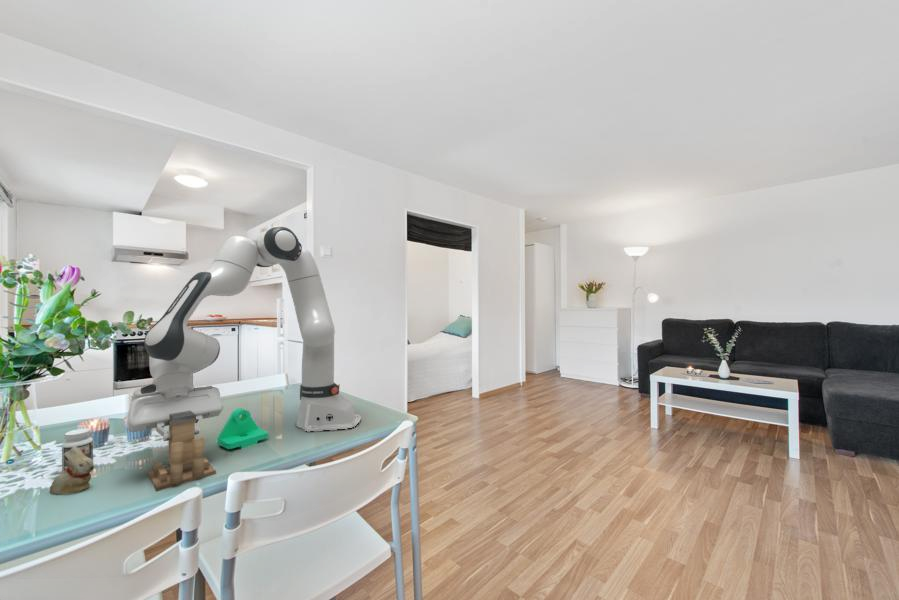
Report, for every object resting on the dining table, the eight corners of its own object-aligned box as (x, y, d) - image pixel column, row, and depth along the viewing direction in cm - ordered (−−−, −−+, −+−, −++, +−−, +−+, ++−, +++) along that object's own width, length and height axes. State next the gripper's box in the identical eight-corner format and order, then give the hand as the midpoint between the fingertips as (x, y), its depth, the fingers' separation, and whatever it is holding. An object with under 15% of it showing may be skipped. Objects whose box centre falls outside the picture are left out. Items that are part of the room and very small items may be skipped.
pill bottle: (98, 466, 97) (99, 428, 97) (71, 476, 92) (71, 436, 92) (83, 463, 99) (84, 426, 99) (55, 473, 93) (56, 434, 93)
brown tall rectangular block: (168, 461, 93) (169, 414, 93) (189, 455, 97) (190, 410, 97) (172, 466, 90) (173, 418, 90) (193, 461, 94) (194, 414, 94)
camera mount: (228, 453, 107) (229, 418, 107) (217, 446, 111) (217, 413, 111) (269, 440, 116) (269, 408, 116) (256, 435, 121) (257, 404, 121)
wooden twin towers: (147, 473, 93) (148, 435, 93) (202, 459, 102) (203, 424, 102) (157, 492, 85) (157, 450, 85) (216, 474, 93) (217, 436, 93)
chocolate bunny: (64, 499, 81) (65, 454, 81) (46, 491, 84) (46, 448, 84) (96, 487, 86) (96, 445, 86) (77, 480, 89) (78, 439, 89)
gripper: (215, 391, 109) (225, 432, 102) (123, 404, 94) (128, 454, 87) (220, 378, 106) (230, 420, 99) (126, 390, 91) (131, 441, 84)
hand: (182, 436), depth 93 cm, fingers closed on brown tall rectangular block, 4 cm apart
